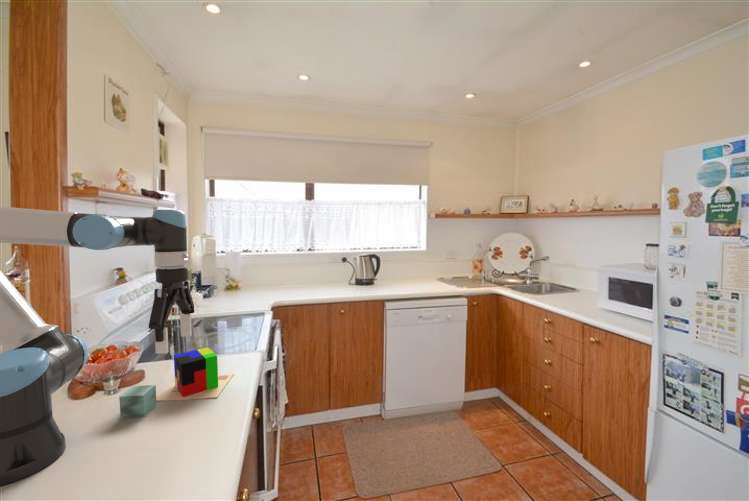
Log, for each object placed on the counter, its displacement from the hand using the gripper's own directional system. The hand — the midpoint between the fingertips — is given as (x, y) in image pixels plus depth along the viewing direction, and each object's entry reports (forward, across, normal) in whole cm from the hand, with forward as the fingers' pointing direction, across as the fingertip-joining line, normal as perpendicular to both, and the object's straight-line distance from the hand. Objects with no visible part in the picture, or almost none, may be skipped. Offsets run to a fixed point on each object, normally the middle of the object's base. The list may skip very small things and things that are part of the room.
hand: (175, 344), depth 93 cm
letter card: (+18, +13, 0) cm, 23 cm away
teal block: (+19, 0, +10) cm, 21 cm away
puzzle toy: (+18, +13, 0) cm, 23 cm away
